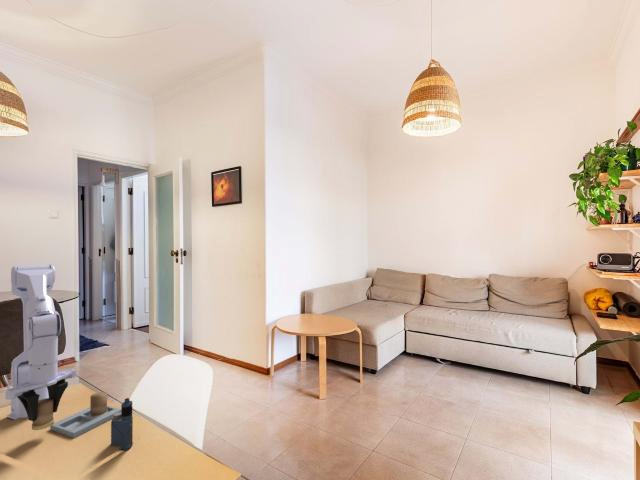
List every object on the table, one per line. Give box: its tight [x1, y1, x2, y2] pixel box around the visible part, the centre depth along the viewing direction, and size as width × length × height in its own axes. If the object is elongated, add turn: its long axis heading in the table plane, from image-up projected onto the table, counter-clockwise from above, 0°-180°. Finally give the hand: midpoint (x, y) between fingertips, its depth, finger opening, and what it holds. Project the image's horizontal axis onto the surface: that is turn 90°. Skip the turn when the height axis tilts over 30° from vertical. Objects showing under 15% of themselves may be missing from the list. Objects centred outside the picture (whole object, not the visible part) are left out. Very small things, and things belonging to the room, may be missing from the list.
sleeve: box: [31, 398, 55, 431], centre depth 85 cm, size 4×4×6 cm
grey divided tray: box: [49, 404, 121, 439], centre depth 92 cm, size 10×13×2 cm
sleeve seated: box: [89, 391, 108, 418], centre depth 95 cm, size 4×4×6 cm
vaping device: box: [110, 397, 134, 452], centre depth 82 cm, size 3×5×12 cm, turn 78°
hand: (42, 415), depth 85 cm, fingers closed on sleeve, 4 cm apart
